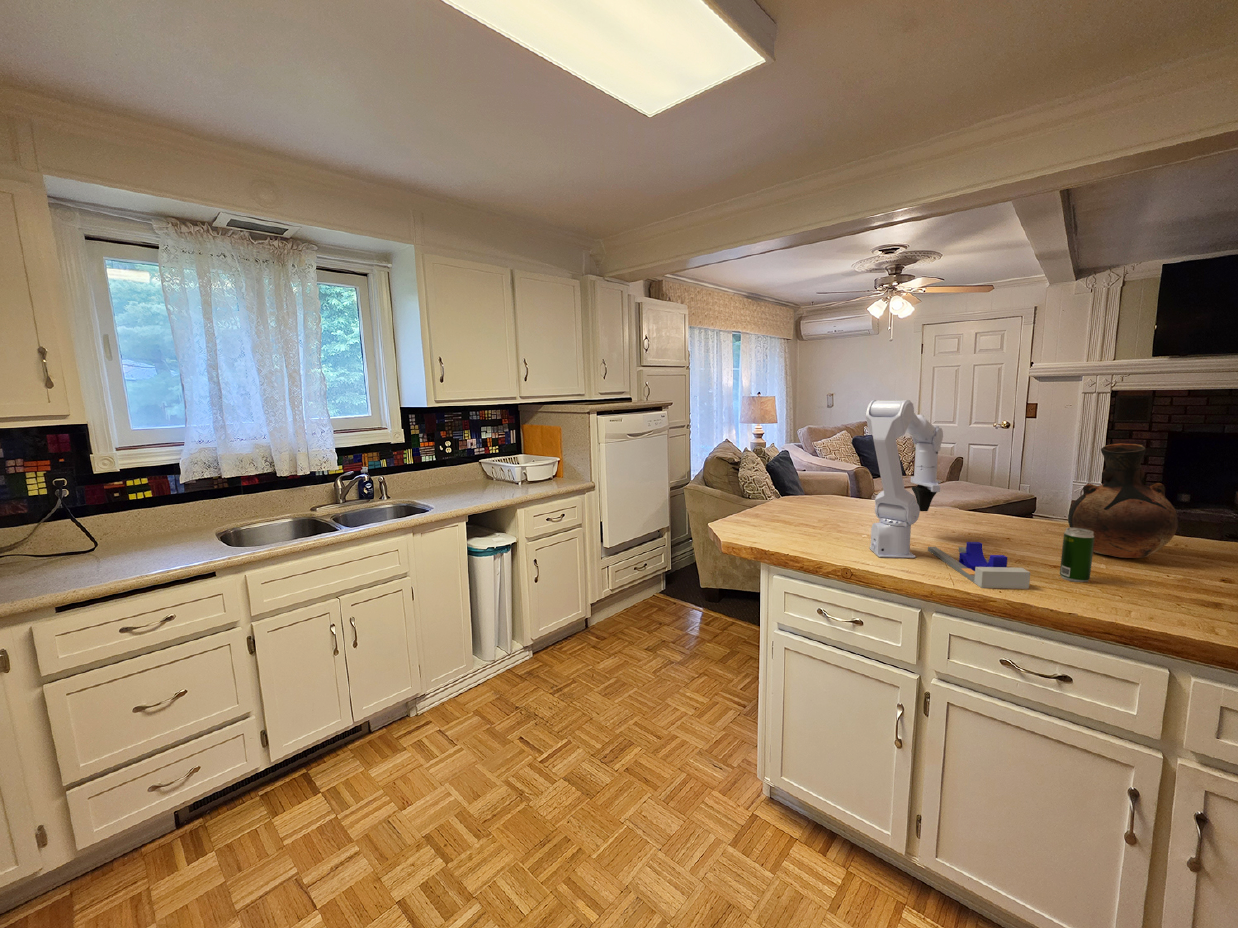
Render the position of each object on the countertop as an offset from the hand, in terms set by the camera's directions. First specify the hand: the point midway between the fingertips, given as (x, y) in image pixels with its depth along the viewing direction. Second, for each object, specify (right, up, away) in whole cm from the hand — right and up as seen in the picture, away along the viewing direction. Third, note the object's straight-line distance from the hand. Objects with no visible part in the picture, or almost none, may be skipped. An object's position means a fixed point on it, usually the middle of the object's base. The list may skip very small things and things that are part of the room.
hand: (923, 510), depth 151 cm
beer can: (+18, -14, -30) cm, 38 cm away
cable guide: (0, -13, -21) cm, 25 cm away
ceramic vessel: (+42, -11, -16) cm, 46 cm away
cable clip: (0, -13, -23) cm, 27 cm away
